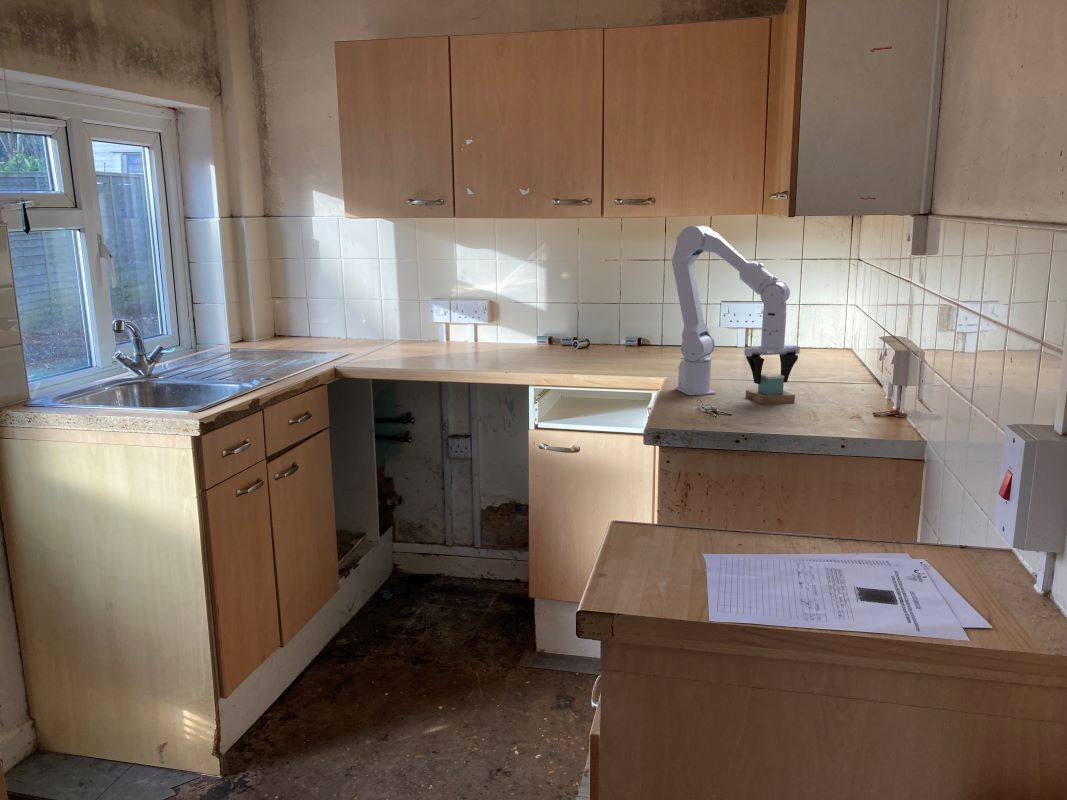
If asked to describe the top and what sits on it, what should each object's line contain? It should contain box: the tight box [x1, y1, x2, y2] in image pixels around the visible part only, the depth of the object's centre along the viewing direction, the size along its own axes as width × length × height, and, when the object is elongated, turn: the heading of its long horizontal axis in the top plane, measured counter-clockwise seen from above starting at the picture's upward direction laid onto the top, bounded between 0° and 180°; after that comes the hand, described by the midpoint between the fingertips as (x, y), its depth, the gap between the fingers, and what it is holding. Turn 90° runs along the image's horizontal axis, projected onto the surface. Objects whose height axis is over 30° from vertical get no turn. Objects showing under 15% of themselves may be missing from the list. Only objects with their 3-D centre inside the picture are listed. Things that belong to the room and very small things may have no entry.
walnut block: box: [745, 388, 796, 405], centre depth 214 cm, size 9×9×2 cm
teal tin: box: [757, 372, 785, 395], centre depth 213 cm, size 5×5×5 cm
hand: (770, 382), depth 213 cm, fingers open, 7 cm apart
